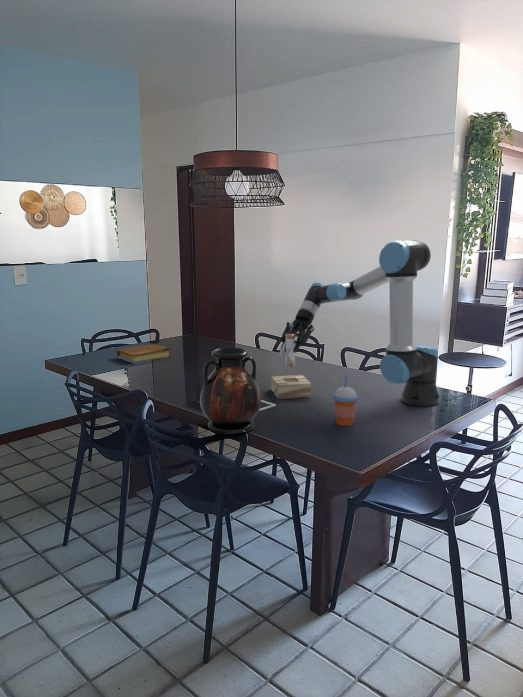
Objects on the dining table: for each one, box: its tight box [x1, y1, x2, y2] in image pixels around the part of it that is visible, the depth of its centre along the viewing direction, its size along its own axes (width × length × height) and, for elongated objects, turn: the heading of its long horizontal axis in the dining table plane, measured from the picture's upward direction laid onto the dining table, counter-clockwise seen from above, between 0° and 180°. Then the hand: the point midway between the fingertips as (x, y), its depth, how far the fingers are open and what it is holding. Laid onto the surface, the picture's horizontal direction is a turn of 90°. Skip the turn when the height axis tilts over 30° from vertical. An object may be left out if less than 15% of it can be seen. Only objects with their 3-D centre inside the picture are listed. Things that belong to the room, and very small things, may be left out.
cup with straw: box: [332, 374, 359, 427], centre depth 194 cm, size 9×9×18 cm
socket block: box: [270, 374, 312, 400], centre depth 233 cm, size 14×14×6 cm
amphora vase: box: [199, 347, 262, 435], centre depth 189 cm, size 22×22×28 cm
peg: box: [284, 333, 296, 368], centre depth 230 cm, size 4×4×14 cm
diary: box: [116, 343, 171, 362], centre depth 301 cm, size 23×19×6 cm
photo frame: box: [259, 399, 277, 412], centre depth 218 cm, size 15×1×18 cm
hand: (285, 357), depth 228 cm, fingers closed on peg, 4 cm apart
